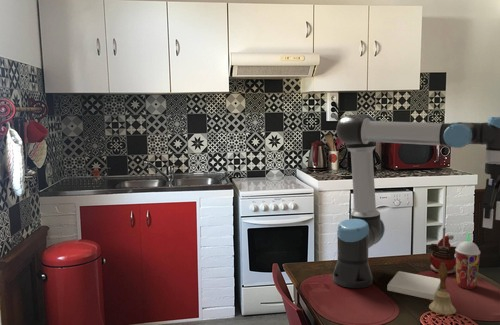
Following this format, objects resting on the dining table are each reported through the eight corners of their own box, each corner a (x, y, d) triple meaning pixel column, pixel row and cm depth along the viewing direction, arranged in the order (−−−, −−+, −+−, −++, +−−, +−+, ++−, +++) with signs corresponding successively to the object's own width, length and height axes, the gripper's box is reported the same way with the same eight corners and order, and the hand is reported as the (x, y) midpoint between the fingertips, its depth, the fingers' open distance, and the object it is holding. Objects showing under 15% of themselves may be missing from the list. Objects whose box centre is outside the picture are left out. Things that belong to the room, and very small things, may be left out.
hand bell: (436, 315, 136) (438, 268, 134) (424, 304, 144) (425, 259, 142) (461, 314, 136) (463, 267, 134) (447, 302, 144) (449, 258, 143)
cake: (426, 272, 172) (428, 229, 170) (430, 264, 180) (432, 223, 178) (455, 276, 167) (457, 232, 164) (458, 269, 174) (460, 227, 172)
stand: (387, 290, 155) (387, 285, 155) (398, 275, 169) (398, 271, 168) (433, 300, 147) (433, 294, 146) (441, 284, 160) (441, 279, 160)
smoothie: (482, 291, 153) (484, 237, 151) (457, 289, 155) (459, 236, 152) (474, 282, 161) (477, 231, 159) (451, 280, 163) (453, 230, 160)
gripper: (498, 167, 131) (494, 233, 134) (520, 160, 148) (516, 218, 151) (472, 165, 136) (469, 228, 139) (497, 158, 154) (493, 215, 156)
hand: (493, 223), depth 145 cm, fingers open, 13 cm apart
